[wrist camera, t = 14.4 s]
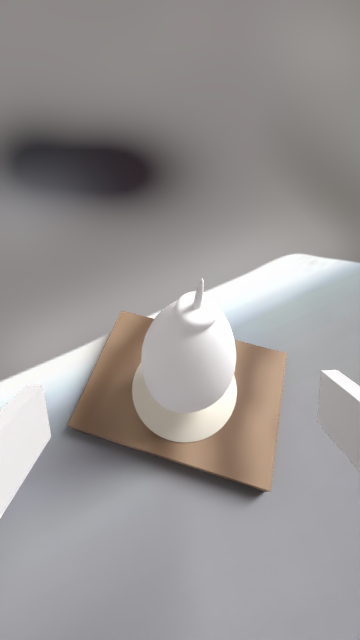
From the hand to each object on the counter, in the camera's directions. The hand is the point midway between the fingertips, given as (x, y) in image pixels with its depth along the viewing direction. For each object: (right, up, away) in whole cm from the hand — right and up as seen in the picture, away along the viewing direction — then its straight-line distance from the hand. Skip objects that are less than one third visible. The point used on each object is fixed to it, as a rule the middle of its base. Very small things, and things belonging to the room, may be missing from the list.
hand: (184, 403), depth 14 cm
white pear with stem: (0, -3, +17) cm, 18 cm away
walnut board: (0, -4, +19) cm, 19 cm away
